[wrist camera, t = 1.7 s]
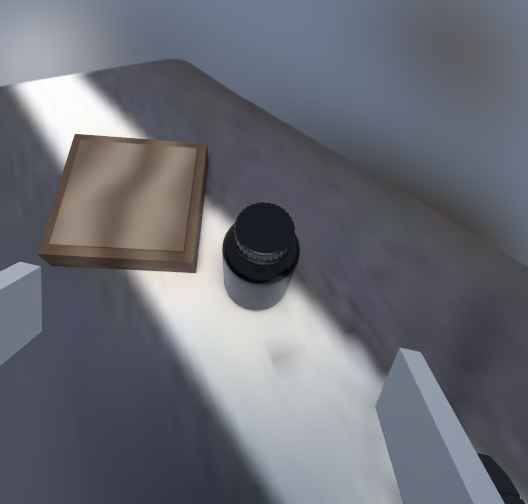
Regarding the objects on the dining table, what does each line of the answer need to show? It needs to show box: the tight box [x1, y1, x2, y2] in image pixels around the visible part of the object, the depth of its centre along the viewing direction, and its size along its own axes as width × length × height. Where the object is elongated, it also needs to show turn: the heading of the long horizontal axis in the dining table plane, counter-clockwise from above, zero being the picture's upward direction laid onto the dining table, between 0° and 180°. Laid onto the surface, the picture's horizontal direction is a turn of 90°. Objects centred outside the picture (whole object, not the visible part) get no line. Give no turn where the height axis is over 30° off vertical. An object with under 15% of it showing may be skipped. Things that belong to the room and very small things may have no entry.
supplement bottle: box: [222, 202, 300, 310], centre depth 33 cm, size 7×7×12 cm
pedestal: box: [37, 134, 209, 273], centre depth 39 cm, size 15×15×3 cm
